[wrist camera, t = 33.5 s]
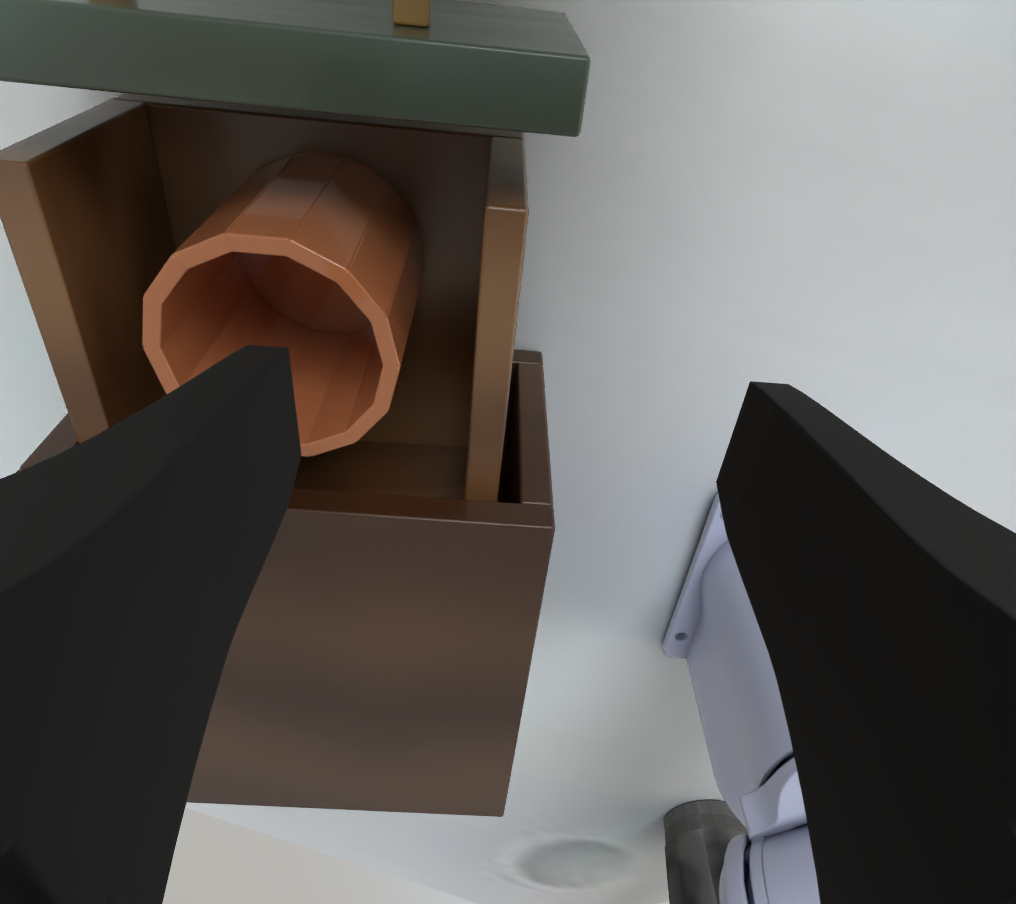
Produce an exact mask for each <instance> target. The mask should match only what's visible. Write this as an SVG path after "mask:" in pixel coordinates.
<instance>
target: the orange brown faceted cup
mask: <svg viewBox="0 0 1016 904" xmlns="http://www.w3.org/2000/svg"><path fill="white" fill-rule="evenodd" d="M424 266H425V264H424V249H423V243H422V238H421V234H420V231H419V228H418V225H417V222H416V220H415V218H414V216H413V214H412V212H411V210H410V209H409V207H408V205H407V204H406V202H405V201H404V200H403V198H402V197H401V196H400V195H399V193H398V192H397V191H396V190H395V189H394V188H393V187H392V186H391V185H390V184H389V183H388V182H387V181H386V180H385V179H383V178H382V177H381V176H380V175H378V174H377V173H376V172H374V171H373V170H371V169H369V168H367V167H366V166H364V165H362V164H360V163H358V162H356V161H353V160H351V159H348V158H345V157H342V156H338V155H334V154H328V153H316V152H307V153H298V154H293V155H289V156H286V157H282V158H280V159H278V160H275V161H273V162H271V163H270V164H268V165H266V166H265V167H263V168H262V169H260V170H258V171H255V172H254V173H253V174H252V175H251V176H250V177H249V178H248V179H247V180H246V181H245V182H244V183H243V184H242V185H241V186H240V187H239V188H238V189H237V190H236V191H235V192H234V193H233V194H232V195H231V196H230V197H229V198H228V199H227V200H226V201H225V202H224V203H223V204H222V205H221V206H220V207H219V208H218V209H217V210H216V211H215V212H214V213H213V214H212V215H211V216H210V217H209V218H208V219H207V220H206V221H205V222H204V223H203V224H202V225H201V226H200V227H199V228H198V229H197V230H196V231H195V232H194V233H193V234H192V235H191V236H190V237H189V238H188V239H187V240H186V241H185V242H184V243H183V244H182V245H181V246H180V247H179V248H178V249H177V250H176V251H175V252H174V253H173V254H172V255H171V256H170V257H169V259H168V260H167V262H166V263H165V264H164V266H163V267H162V269H161V270H160V272H159V273H158V275H157V276H156V277H155V279H154V280H153V282H152V283H151V285H150V286H149V288H148V289H147V290H146V292H145V293H144V297H143V337H142V345H143V349H144V351H145V353H146V355H147V357H148V359H149V361H150V363H151V365H152V367H153V369H154V371H155V373H156V375H157V377H158V379H159V381H160V383H161V385H162V387H163V388H164V390H165V392H166V394H168V393H170V392H172V391H173V390H175V389H176V388H178V387H180V386H181V385H183V384H184V383H186V382H188V381H189V380H191V379H192V378H194V377H196V376H197V375H199V374H200V373H202V372H203V371H205V370H207V369H208V368H210V367H211V366H213V365H214V364H216V363H218V362H219V361H221V360H222V359H224V358H226V357H227V356H229V355H231V354H232V353H234V352H236V351H237V350H239V349H241V348H243V347H245V346H247V345H259V346H272V347H286V348H289V356H290V364H291V372H292V380H293V389H294V397H295V405H296V413H297V422H298V430H299V438H300V446H301V456H305V457H310V456H315V455H318V454H322V453H325V452H328V451H331V450H334V449H338V448H341V447H344V446H347V445H350V444H353V443H355V442H357V441H359V440H360V439H361V438H362V437H363V436H364V435H365V434H366V433H367V432H368V431H369V430H370V429H371V428H372V427H373V426H374V425H375V424H376V423H377V422H378V421H379V420H380V419H381V418H382V417H383V416H384V415H385V414H386V413H387V412H388V410H389V409H390V405H391V401H392V398H393V394H394V390H395V387H396V383H397V379H398V375H399V372H400V368H401V364H402V360H403V356H404V351H405V347H406V343H407V339H408V335H409V331H410V327H411V323H412V318H413V314H414V310H415V306H416V302H417V298H418V294H419V290H420V285H421V281H422V277H423V273H424V269H425V267H424Z"/></svg>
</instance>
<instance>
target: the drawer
mask: <svg viewBox="0 0 1016 904" xmlns="http://www.w3.org/2000/svg"><path fill="white" fill-rule="evenodd" d="M589 69H590V57H589V55H588V54H587V52H586V50H585V48H584V47H583V45H582V43H581V41H580V39H579V38H578V36H577V34H576V32H575V30H574V29H573V27H572V25H571V23H570V22H569V20H568V18H567V16H566V14H565V13H563V12H555V11H546V10H536V9H527V8H518V7H508V6H499V5H490V4H480V3H471V2H462V1H452V0H0V81H7V82H17V83H27V84H38V85H48V86H58V87H68V88H79V89H89V90H99V91H109V92H120V93H125V94H123V95H121V96H118V97H116V98H114V99H111V100H109V101H106V102H104V103H102V104H100V105H98V106H96V107H93V108H91V109H89V110H87V111H85V112H83V113H80V114H78V115H76V116H74V117H72V118H69V119H67V120H65V121H63V122H61V123H59V124H56V125H54V126H52V127H50V128H48V129H46V130H43V131H41V132H39V133H37V134H35V135H33V136H30V137H28V138H26V139H24V140H22V141H20V142H17V143H15V144H13V145H11V146H9V147H7V148H4V149H2V150H0V218H1V221H2V223H3V226H4V229H5V232H6V235H7V238H8V241H9V244H10V246H11V249H12V252H13V255H14V258H15V261H16V264H17V267H18V269H19V272H20V275H21V278H22V281H23V284H24V287H25V290H26V292H27V295H28V298H29V301H30V304H31V307H32V310H33V313H34V315H35V318H36V321H37V324H38V327H39V330H40V333H41V336H42V338H43V341H44V344H45V347H46V350H47V353H48V356H49V358H50V361H51V364H52V367H53V370H54V373H55V376H56V379H57V381H58V384H59V387H60V390H61V393H62V396H63V399H64V402H65V404H66V407H67V410H68V413H69V416H70V419H71V422H72V425H73V427H74V430H75V433H76V436H77V439H78V442H79V444H80V443H82V442H84V441H86V440H88V439H90V438H92V437H93V436H95V435H97V434H99V433H101V432H103V431H104V430H106V429H108V428H110V427H111V426H113V425H115V424H117V423H119V422H120V421H122V420H124V419H126V418H127V417H129V416H131V415H133V414H135V413H136V412H138V411H140V410H142V409H143V408H145V407H147V406H149V405H151V404H152V403H154V402H156V401H157V400H159V399H160V398H162V397H164V396H165V395H167V394H166V392H165V390H164V388H163V387H162V385H161V383H160V381H159V379H158V377H157V375H156V373H155V371H154V369H153V367H152V365H151V363H150V361H149V359H148V357H147V355H146V353H145V351H144V349H143V345H142V337H143V297H144V293H145V292H146V290H147V289H148V288H149V286H150V285H151V283H152V282H153V280H154V279H155V277H156V276H157V275H158V273H159V272H160V270H161V269H162V267H163V266H164V264H165V263H166V262H167V260H168V259H169V257H170V256H171V255H172V254H173V253H174V252H175V251H176V250H177V249H178V248H179V247H180V246H181V245H182V244H183V243H184V242H185V241H186V240H187V239H188V238H189V237H190V236H191V235H192V234H193V233H194V232H195V231H196V230H197V229H198V228H199V227H200V226H201V225H202V224H203V223H204V222H205V221H206V220H207V219H208V218H209V217H210V216H211V215H212V214H213V213H214V212H215V211H216V210H217V209H218V208H219V207H220V206H221V205H222V204H223V203H224V202H225V201H226V200H227V199H228V198H229V197H230V196H231V195H232V194H233V193H234V192H235V191H236V190H237V189H238V188H239V187H240V186H241V185H242V184H243V183H244V182H245V181H246V180H247V179H248V178H249V177H250V176H251V175H252V174H253V173H254V172H255V171H258V170H260V169H262V168H263V167H265V166H266V165H268V164H270V163H271V162H273V161H275V160H278V159H280V158H282V157H286V156H289V155H293V154H298V153H307V152H316V153H328V154H334V155H338V156H342V157H345V158H348V159H351V160H353V161H356V162H358V163H360V164H362V165H364V166H366V167H367V168H369V169H371V170H373V171H374V172H376V173H377V174H378V175H380V176H381V177H382V178H383V179H385V180H386V181H387V182H388V183H389V184H390V185H391V186H392V187H393V188H394V189H395V190H396V191H397V192H398V193H399V195H400V196H401V197H402V198H403V200H404V201H405V202H406V204H407V205H408V207H409V209H410V210H411V212H412V214H413V216H414V218H415V220H416V222H417V225H418V228H419V231H420V234H421V238H422V243H423V249H424V264H425V266H424V267H425V269H424V273H423V277H422V281H421V285H420V290H419V294H418V298H417V302H416V306H415V310H414V314H413V318H412V323H411V327H410V331H409V335H408V339H407V343H406V347H405V351H404V356H403V360H402V364H401V368H400V372H399V375H398V379H397V383H396V387H395V390H394V394H393V398H392V401H391V405H390V409H389V410H388V412H387V413H386V414H385V415H384V416H383V417H382V418H381V419H380V420H379V421H378V422H377V423H376V424H375V425H374V426H373V427H372V428H371V429H370V430H369V431H368V432H367V433H366V434H365V435H364V436H363V437H362V438H361V439H360V440H359V441H357V442H355V443H353V444H350V445H347V446H344V447H341V448H338V449H334V450H331V451H328V452H325V453H322V454H318V455H315V456H310V457H305V456H301V458H300V462H299V466H298V470H297V474H296V478H295V482H294V486H293V488H303V489H317V490H332V491H346V492H361V493H375V494H389V495H404V496H418V497H432V498H447V499H461V500H475V501H490V502H497V500H498V491H499V482H500V472H501V463H502V454H503V445H504V435H505V426H506V417H507V408H508V398H509V389H510V380H511V371H512V361H513V352H514V343H515V334H516V324H517V315H518V306H519V297H520V288H521V278H522V269H523V260H524V251H525V241H526V232H527V223H528V214H529V211H528V195H527V179H526V163H525V146H524V134H523V132H529V133H539V134H549V135H560V136H570V137H576V136H579V134H580V132H581V125H582V118H583V111H584V104H585V97H586V90H587V83H588V76H589Z"/></svg>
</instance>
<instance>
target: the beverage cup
mask: <svg viewBox="0 0 1016 904" xmlns="http://www.w3.org/2000/svg"><path fill="white" fill-rule="evenodd" d="M664 828H665V842H666V847H665V856H666V868H667V879H668V891H669V902H670V904H720V900H719V884H720V876H721V871H722V868H723V865H724V857H725V853H726V850H727V846H728V844H729V842H730V841H731V839H732V838H734V837H735V836H737V835H739V834H745V833H747V829H746V827H745V826H744V825H743V824H742V823H741V822H740V821H739V819H738V818H737V817H736V816H735V814H734V813H733V812H732V811H731V809H730V808H729V806H728V805H727V803H726V802H723V801H714V800H704V801H695V802H690V803H686V804H683V805H681V806H678V807H676V808H674V809H672V810H671V811H670V812H668V813H667V815H666V816H665V818H664Z"/></svg>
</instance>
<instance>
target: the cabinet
mask: <svg viewBox="0 0 1016 904" xmlns="http://www.w3.org/2000/svg"><path fill="white" fill-rule="evenodd" d="M78 444H79V442H78V439H77V436H76V433H75V430H74V427H73V425H72V422H71V419H70V416H69V413H68V414H67V415H66V416H65V417H64V418H63V419H62V420H61V422H60V423H59V424H58V425H57V426H56V427H55V428H54V429H53V431H52V432H51V433H50V434H49V435H48V436H47V437H46V438H45V440H44V441H43V442H42V443H41V444H40V445H39V446H38V447H37V449H36V450H35V451H34V452H33V453H32V454H31V455H30V456H29V458H28V459H27V460H26V461H25V462H24V463H23V464H22V465H21V467H20V470H18V471H17V472H19V471H21V470H24V469H26V468H28V467H30V466H33V465H35V464H37V463H39V462H41V461H44V460H46V459H48V458H50V457H53V456H55V455H57V454H59V453H61V452H63V451H65V450H68V449H70V448H72V447H74V446H76V445H78ZM17 472H16V473H17ZM554 531H555V521H554V509H553V495H552V481H551V468H550V454H549V440H548V427H547V413H546V399H545V385H544V372H543V359H542V353H541V352H537V351H525V350H514V352H513V361H512V371H511V380H510V389H509V398H508V408H507V417H506V426H505V435H504V445H503V454H502V463H501V472H500V482H499V491H498V500H497V502H490V501H475V500H461V499H447V498H432V497H418V496H404V495H389V494H375V493H361V492H346V491H332V490H317V489H303V488H293V490H292V493H291V497H290V501H289V504H288V508H287V510H286V512H285V515H284V517H283V520H282V522H281V525H280V527H279V530H278V532H277V534H276V537H275V539H274V542H273V544H272V546H271V549H270V551H269V553H268V556H267V558H266V560H265V563H264V565H263V567H262V570H261V572H260V574H259V577H258V579H257V581H256V584H255V586H254V588H253V591H252V593H251V595H250V598H249V600H248V603H247V605H246V607H245V610H244V612H243V614H242V617H241V619H240V621H239V624H238V627H237V629H236V632H235V635H234V637H233V640H232V643H231V645H230V648H229V651H228V655H227V658H226V661H225V665H224V668H223V671H222V675H221V678H220V681H219V685H218V688H217V691H216V695H215V698H214V701H213V705H212V708H211V712H210V715H209V719H208V723H207V726H206V730H205V733H204V737H203V741H202V744H201V748H200V752H199V755H198V759H197V763H196V766H195V770H194V774H193V778H192V782H191V786H190V789H189V793H188V797H187V801H186V802H192V803H214V804H236V805H258V806H279V807H301V808H323V809H345V810H366V811H388V812H410V813H432V814H453V815H475V816H497V817H502V816H503V815H504V809H505V804H506V798H507V793H508V787H509V782H510V776H511V770H512V765H513V759H514V754H515V748H516V743H517V737H518V731H519V726H520V720H521V715H522V709H523V704H524V698H525V693H526V687H527V681H528V676H529V670H530V665H531V659H532V654H533V648H534V643H535V637H536V631H537V626H538V620H539V615H540V609H541V604H542V598H543V592H544V587H545V581H546V576H547V570H548V565H549V559H550V554H551V548H552V542H553V537H554Z"/></svg>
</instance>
